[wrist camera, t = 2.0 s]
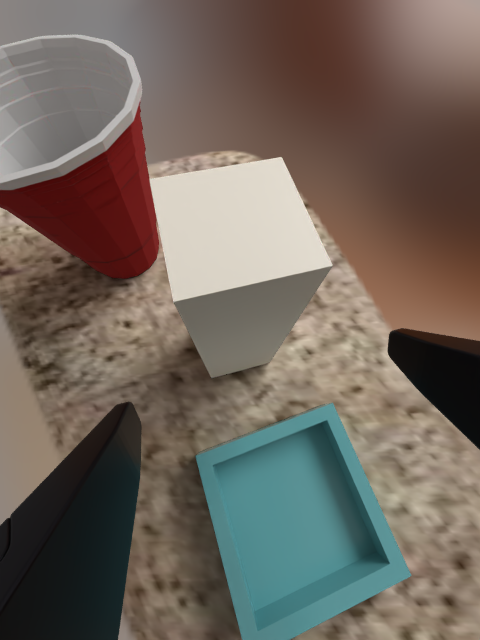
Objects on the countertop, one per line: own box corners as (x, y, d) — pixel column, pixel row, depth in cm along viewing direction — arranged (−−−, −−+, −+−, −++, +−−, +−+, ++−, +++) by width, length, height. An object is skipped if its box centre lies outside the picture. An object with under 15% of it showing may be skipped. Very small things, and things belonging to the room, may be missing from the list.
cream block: (269, 362, 19) (332, 265, 7) (211, 378, 19) (173, 301, 7) (252, 309, 21) (281, 157, 9) (198, 322, 20) (149, 179, 8)
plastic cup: (66, 209, 24) (-77, 27, 13) (182, 200, 25) (140, 21, 14) (52, 315, 20) (-172, 184, 9) (189, 299, 21) (140, 162, 10)
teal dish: (389, 556, 15) (411, 575, 13) (245, 628, 14) (247, 661, 12) (322, 404, 18) (332, 403, 16) (199, 452, 17) (195, 455, 15)
